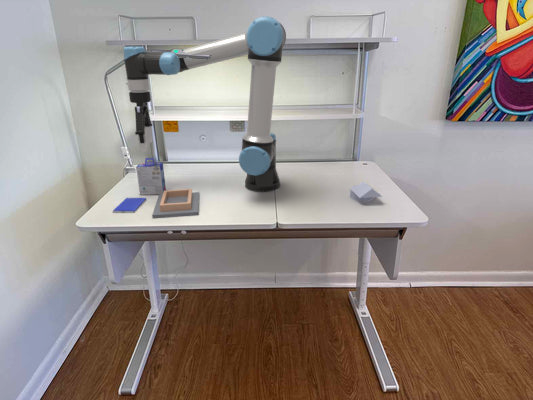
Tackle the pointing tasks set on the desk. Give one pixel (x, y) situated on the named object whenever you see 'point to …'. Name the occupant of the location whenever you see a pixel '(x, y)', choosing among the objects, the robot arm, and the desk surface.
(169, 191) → the grey holder tray
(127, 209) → the hard drive
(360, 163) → the desk surface
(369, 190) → the pale grey faceted rock
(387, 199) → the desk surface
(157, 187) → the ink cartridge box
